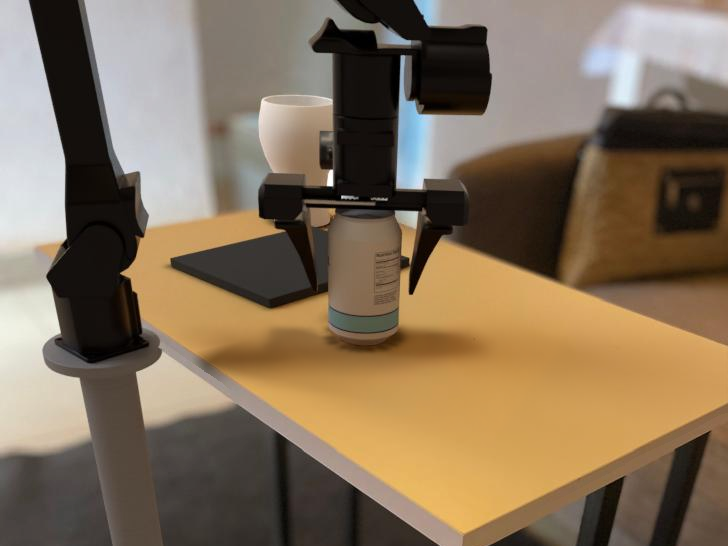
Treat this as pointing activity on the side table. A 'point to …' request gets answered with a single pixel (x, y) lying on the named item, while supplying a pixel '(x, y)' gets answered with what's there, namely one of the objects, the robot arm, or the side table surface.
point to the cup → (296, 139)
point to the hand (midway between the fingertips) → (363, 292)
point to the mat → (262, 268)
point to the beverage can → (364, 275)
